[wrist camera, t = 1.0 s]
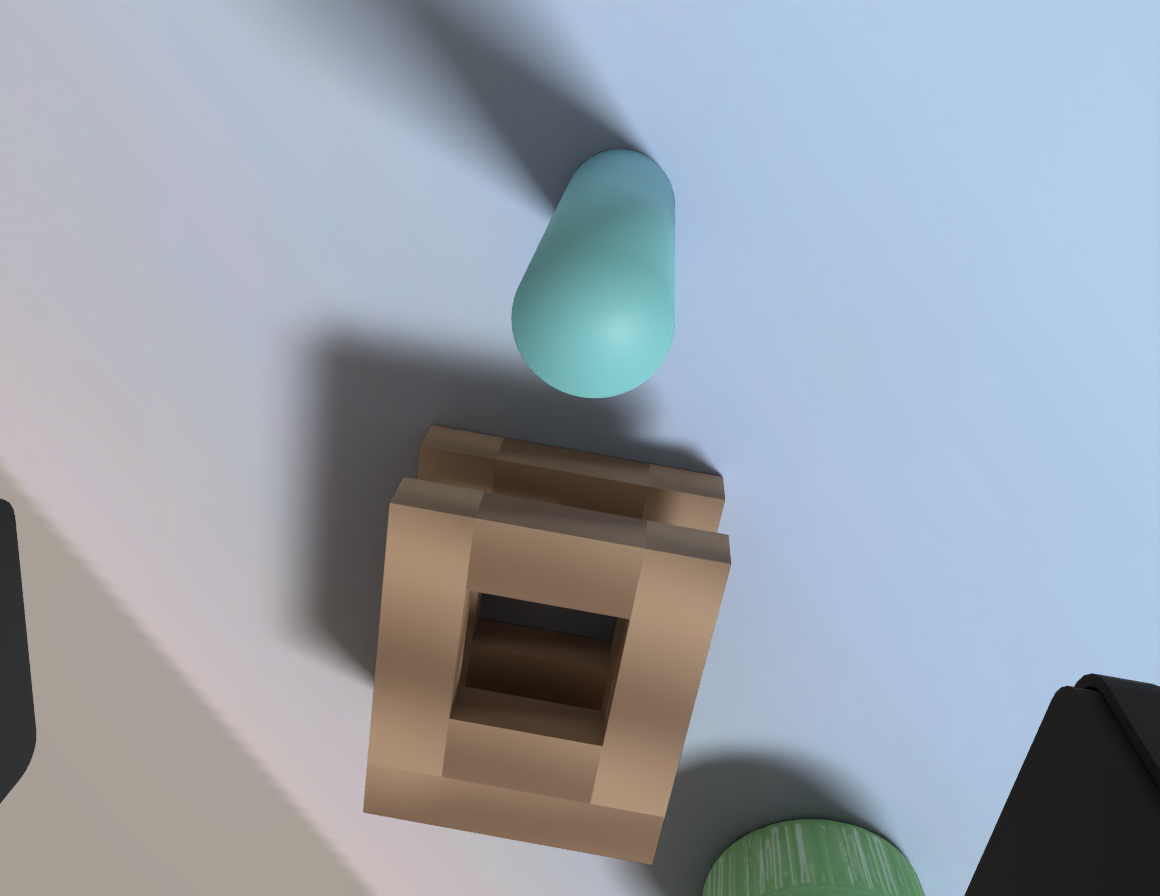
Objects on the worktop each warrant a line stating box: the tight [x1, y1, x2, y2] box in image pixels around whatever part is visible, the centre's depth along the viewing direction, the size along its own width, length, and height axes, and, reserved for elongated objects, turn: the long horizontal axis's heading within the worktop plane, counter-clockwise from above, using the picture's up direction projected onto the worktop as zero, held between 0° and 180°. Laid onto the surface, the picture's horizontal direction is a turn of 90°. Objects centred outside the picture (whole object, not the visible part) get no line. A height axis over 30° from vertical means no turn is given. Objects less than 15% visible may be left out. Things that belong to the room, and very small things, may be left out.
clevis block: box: [363, 425, 731, 865], centre depth 31 cm, size 11×9×5 cm
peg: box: [512, 149, 675, 398], centre depth 23 cm, size 3×3×10 cm
